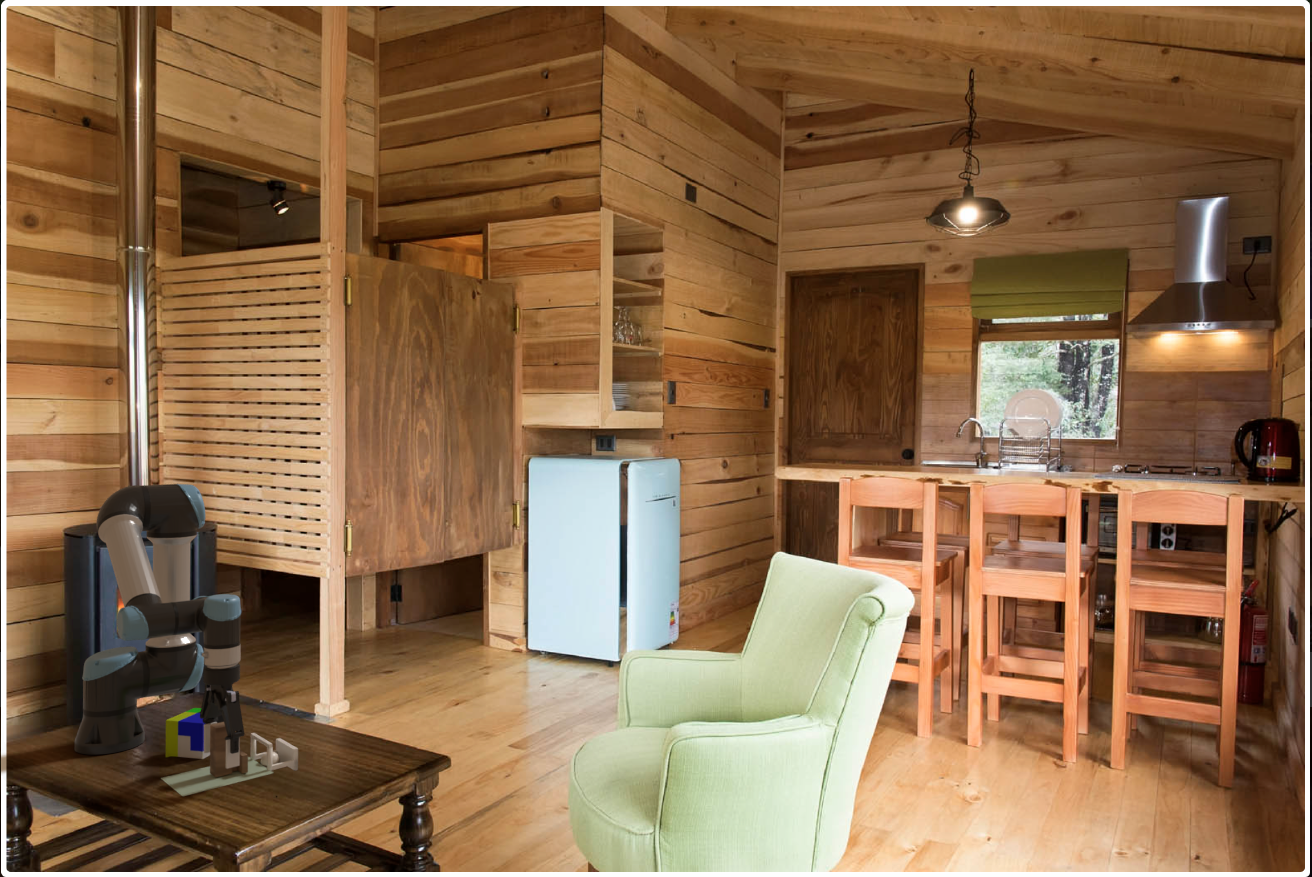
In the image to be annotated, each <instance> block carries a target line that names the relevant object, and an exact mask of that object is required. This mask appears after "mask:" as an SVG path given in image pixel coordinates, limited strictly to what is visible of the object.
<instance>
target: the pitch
mask: <svg viewBox="0 0 1312 877" xmlns="http://www.w3.org/2000/svg"><path fill="white" fill-rule="evenodd" d="M257 742H258V743H260V744H262V745H264V746H265V747H266V751H264V752H261V753H257ZM273 746H274V745H273V743H272V742H270V741H268V740H267V739H265V738H264V737H262V736H260V735H258V734H257V733H256V732H252V733H250V756H248V772H247V773H243V774H242V773H241V772H239V771H234V772H232V774H228V775H224V776H220V777H214V776H213V775H212V774H210V765H209V766H206V767H200V768H197V769H192V770H189V771H185V772H184V771H183V772H181V773H176V774H172V775H168V776H164V777H160V779H161V780H162V781H163V782H164V783H166V784H167V785H168V786H169V787H170V788H172V789H173V790H174V791H175V792H176V793H178V795H180V796H182V797H185V796H190V795H194V794H198V793H202V792H206V791H209V790H214V789H217V788H218V789H219V788H221V787H225V786H229V785H232V784H233V785H234V784H236V783H241V782H245V781H248V780H253V779H256V778H261V777H264V776H267V775H273V774H274V770H278V769H282V768H286V767H288V768H289V769H291V770H293V771H298V770H299V748H298V747H297V746H294V745H292V743H289V742H288V741H286V740H284V739H283V738H281V737H278V738H275V749H274V750H273V748H274V747H273ZM272 752H275V753H277V754H278V756H279V762H278V763H277V764H273V765H272ZM265 753H267V766H264V765H261V762H258V761H257V760H261V758H262V756H263V755H264V754H265Z"/></svg>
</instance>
